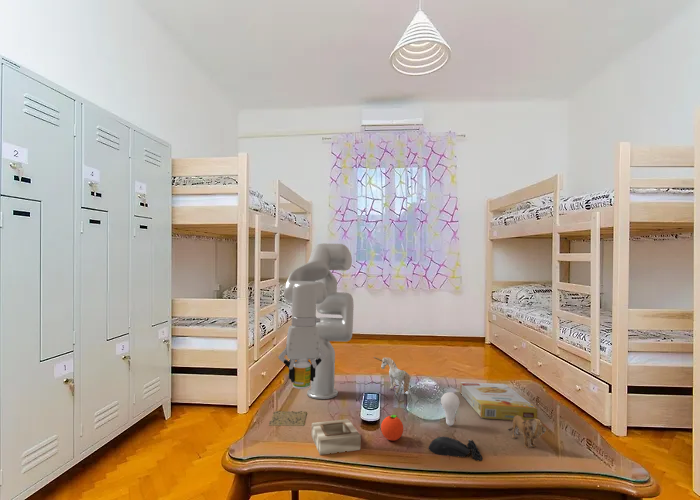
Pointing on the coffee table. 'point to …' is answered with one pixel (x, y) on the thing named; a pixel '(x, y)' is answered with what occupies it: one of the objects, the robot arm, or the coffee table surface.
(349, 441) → the socket block
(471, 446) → the black computer mouse
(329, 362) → the robot arm
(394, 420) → the clementine
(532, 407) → the cereal box
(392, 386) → the unicorn figurine
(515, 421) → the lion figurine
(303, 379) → the supplement bottle
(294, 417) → the cookie
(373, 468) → the coffee table surface
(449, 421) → the lightbulb
